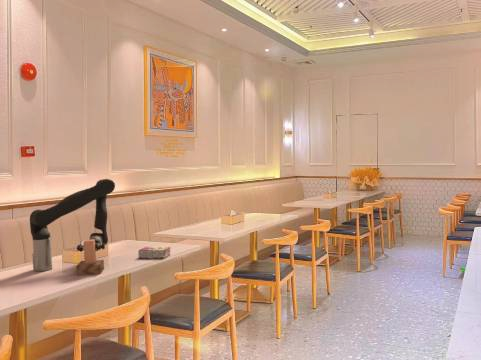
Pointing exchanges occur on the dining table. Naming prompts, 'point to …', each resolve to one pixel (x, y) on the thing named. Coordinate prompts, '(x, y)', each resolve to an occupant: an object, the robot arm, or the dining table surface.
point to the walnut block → (90, 268)
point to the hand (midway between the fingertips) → (89, 249)
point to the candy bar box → (154, 252)
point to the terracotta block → (89, 251)
